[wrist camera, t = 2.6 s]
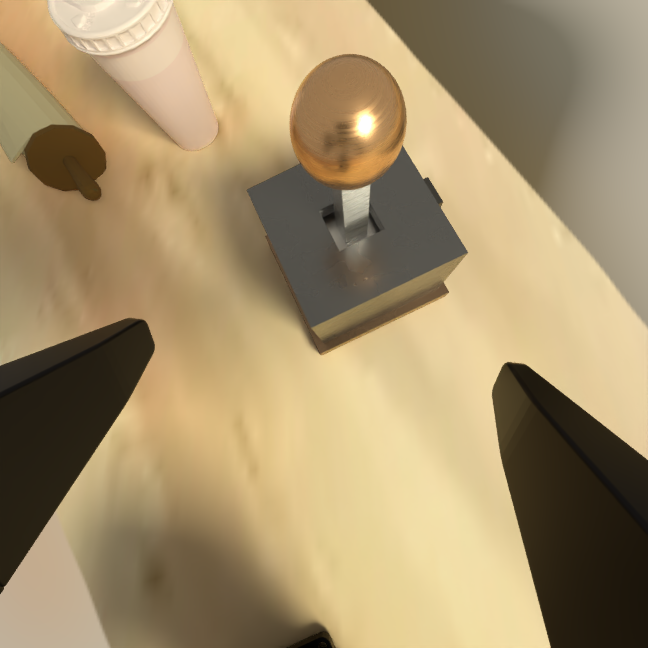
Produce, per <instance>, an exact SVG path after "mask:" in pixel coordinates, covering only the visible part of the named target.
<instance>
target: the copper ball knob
mask: <svg viewBox="0 0 648 648" xmlns="http://www.w3.org/2000/svg"><path fill="white" fill-rule="evenodd" d="M406 123H407V118H406V107H405V102H404V98H403V95H402V92H401V90H400V88H399V86H398V84H397V82H396V80H395V79H394V77H393V76H392V75H391V74H390V72H389V71H388V70H387V69H386V68H385V67H384V66H382V65H381V64H380V63H378V62H377V61H375V60H373V59H371V58H369V57H366V56H362V55H356V54H343V55H338V56H335V57H332V58H330V59H327V60H325V61H323V62H322V63H320V64H319V65H317V66H316V67H315V68H314V69H313V70H312V71H311V72H310V73H309V74H308V75H307V76H306V77H305V79H304V80H303V82H302V83H301V85H300V86H299V88H298V90H297V92H296V95H295V98H294V101H293V104H292V108H291V114H290V136H291V142H292V146H293V149H294V152H295V154H296V156H297V159H298V160H299V162H300V164H301V165H302V167H303V168H304V169H305V171H306V172H307V173H308V174H309V175H310V176H311V177H312V178H313V179H314V180H316V181H317V182H319V183H321V184H322V185H325V186H327V187H329V188H331V191H332V198H333V206H334V212H333V213H331V214H328V215H326V216H324V217H322V218H323V220H324V222H325V224H326V226H327V228H328V230H329V231H330V233H331V235H332V237H333V239H334V241H335V243H336V245H337V247H338V249H339V251H341V250H343V249H345V248H347V247H349V246H351V245H353V244H355V243H357V242H359V241H361V240H363V239H365V238H368V237H370V236H372V235H374V234H376V233H378V232H380V229H379V227H378V226H377V224H376V222H375V220H374V218H373V216H372V215H371V213H370V211H369V198H370V184H372V183H373V182H375V181H376V180H378V179H379V178H380V177H382V176H383V175H384V174H385V173H386V172H387V171H388V170H389V168H390V167H391V166H392V165H393V163H394V162H395V160H396V158H397V156H398V154H399V152H400V150H401V148H402V145H403V141H404V137H405V132H406Z"/></svg>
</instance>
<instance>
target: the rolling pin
mask: <svg viewBox="0 0 648 648" xmlns="http://www.w3.org/2000/svg"><path fill="white" fill-rule="evenodd" d="M0 144H1V146H2V148H3V149H4V151H5V153H6V155H7V156H8V158H9V160H10V162H11V163H15V161H16V160H17V158H18V157H19V155H20V154H21V153H22V154H23V155H24V156H25V157H26V160H27V165H28V168H29V169H30V171H31V172H32V173H33V174H34V175H35V176H36V177H37V178H38V179H39V180H40V181H42V182H43V183H44V184H45V185H47V186H50V187H53V188H56V189H60V190H63V191H70V190H79V191H80V192H81V194H82V195H83V196H84V197H85V198H87V199H89V200H92V201H94V200H98V199H99V198H100V197H101V189H100V187H99V185H98V184H97V183H96V182H95V181H94V180H96V179H97V178H98V177H99V176H100V175H102V174H103V172H104V170H105V169H106V158H105V152H104V150H103V149H102V148H101V146H100V145H99V143H98V142H97V141H96V139H95V138H94V136H93V135H92V134H90V133H88V132H86V131H84V130H83V129H82V128H81V126H80V125H79V124H78V123H77V122H76V121H75V120H74V119H73V118H72V116H71V115H70V114H69V113H68V112H67V111H66V110H65V109H64V107H63V106H62V105H61V104H60V103H59V102H58V101H57V100H56V99H55V97H54V96H53V95H52V94H51V93H50V92H49V91H48V90H47V89H46V88H45V87H44V86H43V85H42V84H41V83H40V82H39V81H38V80H37V79H36V78H35V77H34V76H33V75H32V73H31V72H30V71H29V70H28V69H27V68H26V67H25V66H24V65H23V64H22V63H21V62H20V61H19V60H18V59H17V58H16V57H15V56H14V55H13V54H12V53H11V52H10V51H9V50H8V49H7V48H6V47H5V46H4V45H3V44H2V43H0Z"/></svg>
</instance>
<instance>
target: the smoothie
mask: <svg viewBox="0 0 648 648" xmlns="http://www.w3.org/2000/svg"><path fill="white" fill-rule="evenodd" d="M48 10H49V14H50V16H51V18H52V20H53V22H54V23H55V24H56V26H57V27H58V28H59V29H60V30H61V31H62V33H63V34H64V35H65V37H66V38H67V40H68V42H69V43H71V44H72V45H73V46H74V47H75V48H77V49H78V50H80V51H82V52H85V53H87V54H89V55H90V56H91V57H92V58H93V59H94V60H95V61H96V62H97V63H98V64H99V65H100V66H101V67H102V68H103V70H104V71H105V72H106V73H108V74H109V75H110V76H111V77H112V78H113V79H114V80H115V81H116V82H117V83H118V84H119V85H120V86H121V88H122V89H123V90H124V91H125V92H126V93H127V94H128V95H129V96H130V97H131V98H132V99H133V100H134V101H135V102H136V103H137V104H138V105H139V106H140V107H141V108H142V109H143V110H144V111H145V112H146V113H147V114H148V115H149V116H150V117H151V118H152V119H153V120H154V121H155V122H156V123H157V124H158V125H159V126H160V127H161V128H162V129H163V130H164V131H165V132H166V133H167V134H168V135H169V136H170V137H171V138H172V139H173V140H174V141H175V142H176V143H177V144H178V145H179V146H180V147H181V148H183V149H185V150H189V151H196V150H201V149H203V148H205V147H207V146H208V145H210V144H211V143H212V142H213V140H214V139H215V137H216V135H217V133H218V122H217V119H216V116H215V113H214V111H213V108H212V105H211V103H210V100H209V97H208V95H207V92H206V89H205V87H204V84H203V81H202V78H201V76H200V73H199V70H198V68H197V65H196V62H195V60H194V57H193V54H192V52H191V49H190V46H189V44H188V41H187V38H186V35H185V33H184V30H183V27H182V24H181V21H180V19H179V16H178V14H177V11H176V9H175V6H174V3H173V0H48Z"/></svg>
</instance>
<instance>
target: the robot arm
mask: <svg viewBox="0 0 648 648" xmlns="http://www.w3.org/2000/svg"><path fill="white" fill-rule="evenodd" d="M154 349H155V344H154V341H153V338H152V335H151V332H150V330H149V327H148V324H147V323H146V321H145V320H142V319H135V318H127V319H124V320H121V321H119V322H116V323H113V324H111V325H108V326H105V327H103V328H100V329H97V330H95V331H92V332H89V333H87V334H84V335H81V336H79V337H76V338H73V339H71V340H68V341H65V342H63V343H60V344H57V345H55V346H52V347H49V348H47V349H44V350H41V351H38V352H36V353H33V354H30V355H28V356H25V357H22V358H20V359H17V360H14V361H12V362H9V363H6V364H4V365H1V366H0V594H1V592H2V591H3V590H4V586H6V584H7V583H8V582H9V580H10V578H11V577H12V575H13V574H14V572H15V571H16V569H17V568H18V566H19V565H20V563H21V562H22V560H23V559H24V557H25V556H26V554H27V553H28V551H29V550H30V548H31V547H32V545H33V544H34V542H35V540H36V539H37V538H38V536H39V535H40V533H41V532H42V530H43V529H44V527H45V525H46V524H47V523H48V521H49V520H50V518H51V517H52V515H53V514H54V512H55V511H56V509H57V508H58V506H59V505H60V503H61V502H62V500H63V499H64V497H65V496H66V494H67V493H68V491H69V490H70V488H71V487H72V485H73V483H74V482H75V480H76V479H77V477H78V476H79V474H80V473H81V471H82V470H83V468H84V467H85V465H86V464H87V462H88V461H89V459H90V458H91V456H92V455H93V453H94V452H95V450H96V449H97V447H98V446H99V444H100V443H101V441H102V440H103V438H104V437H105V435H106V434H107V432H108V431H109V429H110V428H111V426H112V425H113V423H114V422H115V420H116V419H117V417H118V416H119V414H120V413H121V411H122V410H123V408H124V406H125V405H126V403H127V402H128V400H129V398H130V396H131V395H132V393H133V391H134V389H135V387H136V385H137V383H138V381H139V380H140V378H141V376H142V374H143V372H144V370H145V368H146V366H147V364H148V362H149V361H150V359H151V357H152V355H153V353H154ZM492 399H493V406H494V413H495V420H496V428H497V435H498V442H499V449H500V455H501V459H502V464H503V468H504V472H505V476H506V479H507V483H508V487H509V491H510V494H511V498H512V502H513V506H514V510H515V513H516V517H517V521H518V525H519V529H520V532H521V536H522V540H523V544H524V548H525V551H526V555H527V559H528V563H529V567H530V570H531V574H532V578H533V582H534V586H535V589H536V593H537V597H538V601H539V605H540V608H541V612H542V616H543V620H544V623H545V627H546V631H547V635H548V639H549V642H550V646H551V648H648V460H647V459H646V458H645V457H643V456H642V455H641V454H639V453H638V452H637V451H636V450H634V449H633V448H632V447H630V446H629V445H628V444H627V443H625V442H624V441H623V440H622V439H620V438H619V437H618V436H616V435H615V434H614V433H613V432H611V431H610V430H609V429H608V428H606V427H605V426H604V425H602V424H601V423H600V422H599V421H597V420H596V419H595V418H594V417H592V416H591V415H590V414H588V413H587V412H586V411H585V410H583V409H582V408H581V407H580V406H578V405H577V404H576V403H574V402H573V401H572V400H571V399H569V398H568V397H567V396H565V395H564V394H563V393H562V392H560V391H559V390H558V389H557V388H555V387H554V386H553V385H551V384H550V383H549V382H548V381H546V380H545V379H544V378H543V377H541V376H540V375H539V374H537V373H536V372H535V371H534V370H532V369H531V368H530V367H529V366H527V365H525V364H521V363H512V362H507V363H505V364H504V365H503V366H502V368H501V371H500V373H499V375H498V377H497V380H496V382H495V384H494V386H493V390H492ZM321 642H324V643H326V645H327V646H326V647H322V646H320V643H321ZM287 648H335V646H334V643H333V641H332V638H331V637H330V635H329V634H328V633H326V632H320V633H317V634H315V635H313V636H311V637H309V638H307V639H305V640H302V641H300V642H298V643H296V644H294V645H292V646H290V647H287Z"/></svg>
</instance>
